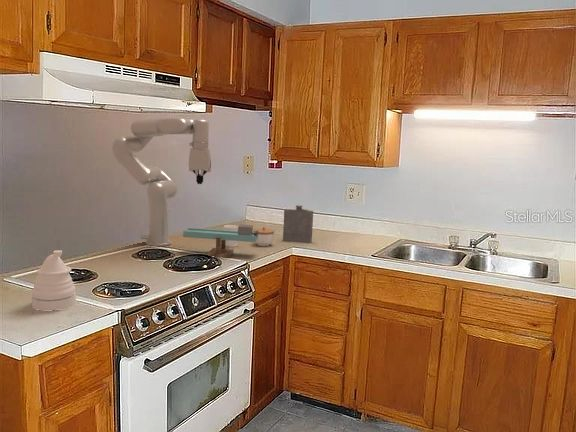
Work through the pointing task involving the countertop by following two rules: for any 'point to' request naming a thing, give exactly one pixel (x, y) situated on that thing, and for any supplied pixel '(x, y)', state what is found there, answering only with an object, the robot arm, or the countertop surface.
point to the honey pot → (53, 285)
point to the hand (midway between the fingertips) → (199, 183)
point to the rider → (245, 229)
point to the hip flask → (298, 225)
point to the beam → (219, 234)
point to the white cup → (231, 228)
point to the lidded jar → (264, 236)
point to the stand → (220, 249)
